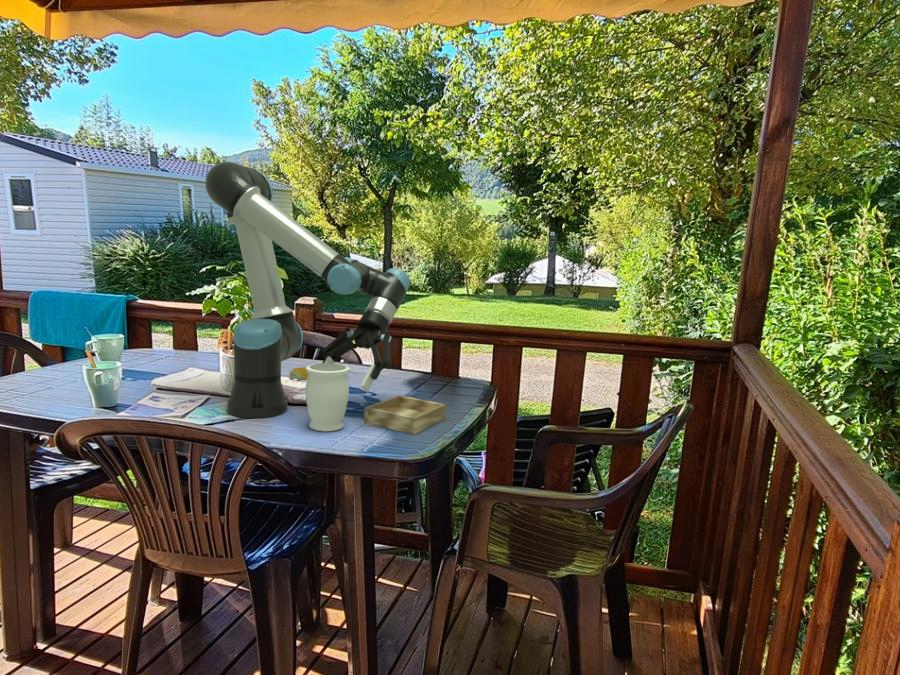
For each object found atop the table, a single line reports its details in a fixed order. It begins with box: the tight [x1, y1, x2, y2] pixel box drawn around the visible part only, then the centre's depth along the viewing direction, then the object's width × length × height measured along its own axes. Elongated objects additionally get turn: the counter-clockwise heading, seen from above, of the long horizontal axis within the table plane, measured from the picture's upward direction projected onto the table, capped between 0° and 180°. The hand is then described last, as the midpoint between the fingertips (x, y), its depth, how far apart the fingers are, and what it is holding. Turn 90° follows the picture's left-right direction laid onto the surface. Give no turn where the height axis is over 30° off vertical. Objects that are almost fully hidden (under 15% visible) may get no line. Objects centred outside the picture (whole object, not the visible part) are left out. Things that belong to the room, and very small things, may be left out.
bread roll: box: [288, 366, 308, 380], centre depth 191 cm, size 8×9×4 cm
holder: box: [363, 394, 447, 436], centre depth 151 cm, size 15×16×4 cm
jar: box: [305, 362, 350, 433], centre depth 142 cm, size 11×10×15 cm
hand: (341, 384), depth 144 cm, fingers open, 13 cm apart
